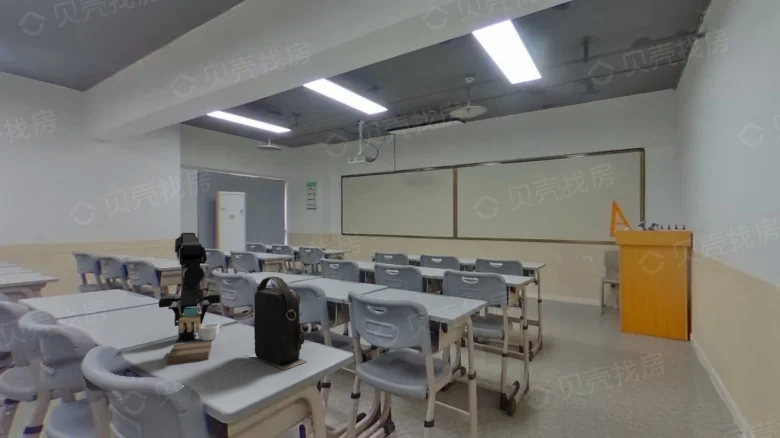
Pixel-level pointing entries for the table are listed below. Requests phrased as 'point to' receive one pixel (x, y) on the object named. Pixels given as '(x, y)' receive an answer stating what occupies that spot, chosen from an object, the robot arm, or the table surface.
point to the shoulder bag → (277, 325)
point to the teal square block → (190, 311)
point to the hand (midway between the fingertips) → (191, 324)
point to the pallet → (190, 322)
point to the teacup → (209, 331)
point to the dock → (189, 352)
